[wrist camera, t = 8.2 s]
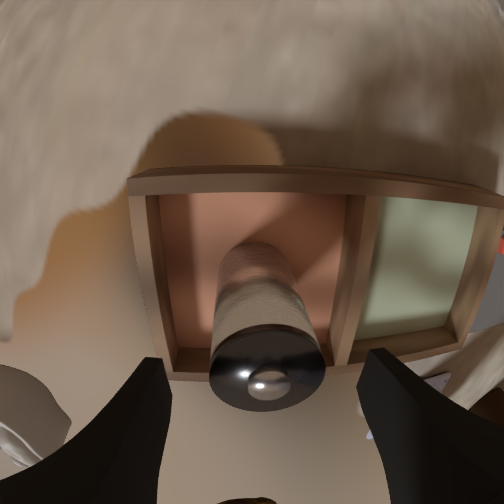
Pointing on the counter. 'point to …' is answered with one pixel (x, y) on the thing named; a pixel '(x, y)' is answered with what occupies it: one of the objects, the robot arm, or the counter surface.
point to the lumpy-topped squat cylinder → (29, 418)
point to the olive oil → (491, 407)
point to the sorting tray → (316, 255)
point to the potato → (249, 501)
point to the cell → (262, 333)
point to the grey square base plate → (492, 295)
